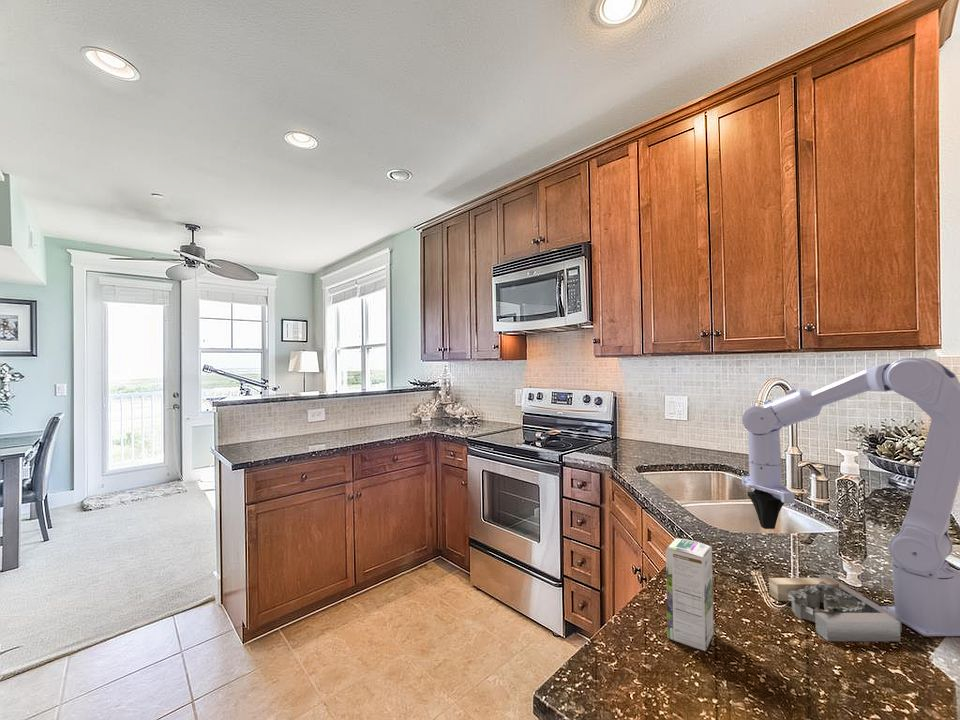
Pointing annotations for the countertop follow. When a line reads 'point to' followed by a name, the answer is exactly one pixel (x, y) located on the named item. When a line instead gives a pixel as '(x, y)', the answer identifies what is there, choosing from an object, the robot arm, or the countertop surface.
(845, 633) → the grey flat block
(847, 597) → the egg carton
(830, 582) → the block
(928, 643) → the countertop surface
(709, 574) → the syrup box
